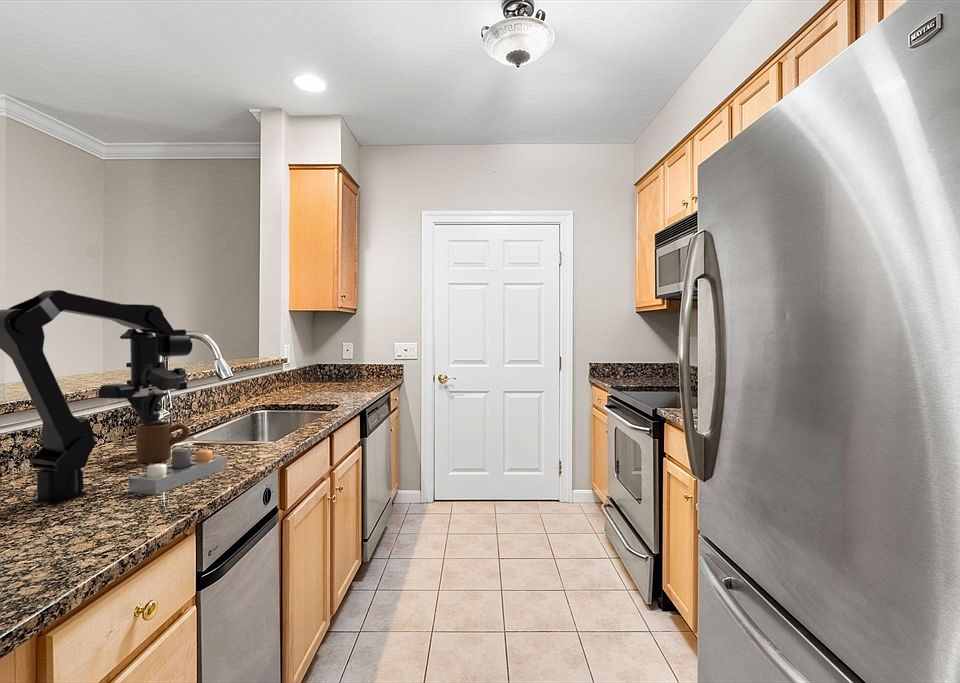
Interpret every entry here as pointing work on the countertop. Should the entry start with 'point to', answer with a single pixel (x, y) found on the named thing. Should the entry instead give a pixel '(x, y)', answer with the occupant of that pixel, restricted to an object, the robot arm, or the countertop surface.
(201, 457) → the button orange
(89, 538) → the countertop surface
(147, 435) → the mug
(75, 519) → the countertop surface
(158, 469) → the button ivory
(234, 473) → the countertop surface
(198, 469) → the button strip
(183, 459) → the button charcoal
